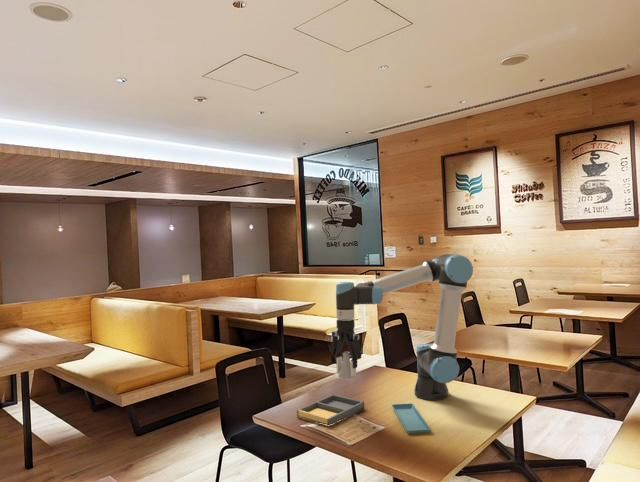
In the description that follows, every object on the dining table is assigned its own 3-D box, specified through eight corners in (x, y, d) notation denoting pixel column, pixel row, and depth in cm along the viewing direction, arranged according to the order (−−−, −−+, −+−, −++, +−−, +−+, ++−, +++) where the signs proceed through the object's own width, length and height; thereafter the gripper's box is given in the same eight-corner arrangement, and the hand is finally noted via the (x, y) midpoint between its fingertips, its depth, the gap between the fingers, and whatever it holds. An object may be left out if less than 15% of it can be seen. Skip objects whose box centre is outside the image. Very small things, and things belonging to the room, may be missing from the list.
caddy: (364, 408, 193) (364, 401, 193) (329, 427, 175) (328, 419, 176) (333, 401, 204) (332, 394, 204) (297, 417, 187) (296, 410, 187)
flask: (353, 379, 186) (353, 354, 186) (336, 378, 188) (336, 354, 188) (356, 374, 193) (355, 350, 193) (339, 373, 195) (339, 350, 195)
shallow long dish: (431, 435, 166) (431, 428, 166) (406, 436, 165) (406, 429, 165) (412, 409, 192) (412, 403, 192) (391, 410, 192) (391, 404, 192)
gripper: (321, 318, 194) (322, 371, 194) (358, 322, 181) (359, 380, 181) (333, 315, 200) (334, 368, 200) (369, 320, 187) (370, 376, 187)
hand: (346, 373), depth 190 cm, fingers closed on flask, 7 cm apart
